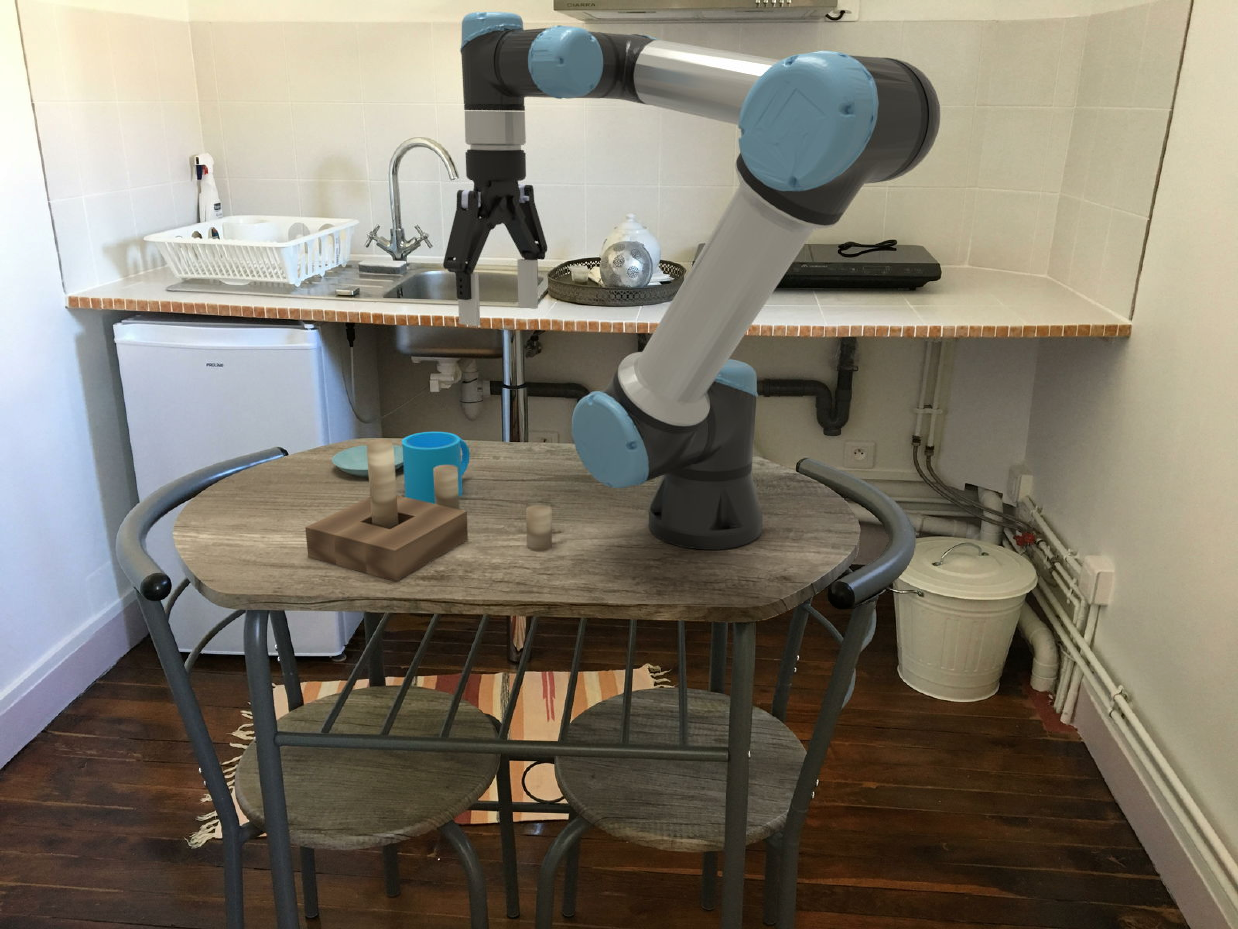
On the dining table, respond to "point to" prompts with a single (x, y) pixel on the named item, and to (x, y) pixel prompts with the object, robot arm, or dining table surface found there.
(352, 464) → the saucer
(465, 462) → the mug
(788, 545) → the dining table surface
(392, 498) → the dowel long
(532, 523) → the dowel short
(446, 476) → the dowel mid
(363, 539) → the collar block
